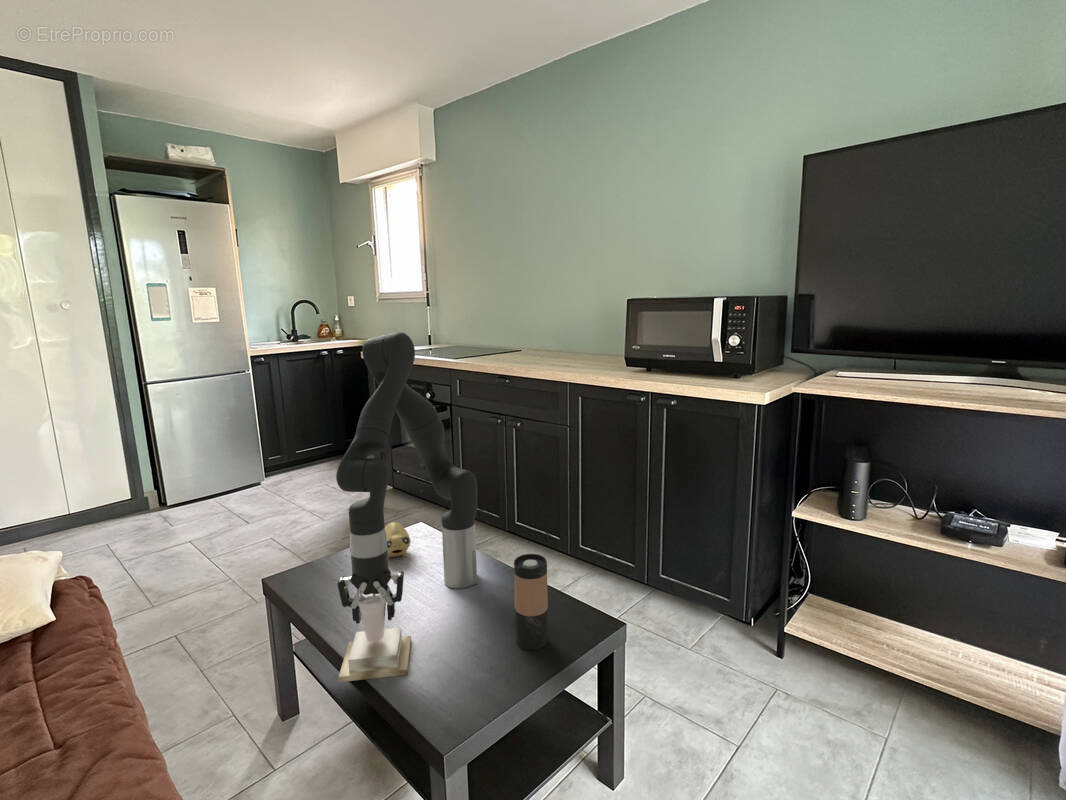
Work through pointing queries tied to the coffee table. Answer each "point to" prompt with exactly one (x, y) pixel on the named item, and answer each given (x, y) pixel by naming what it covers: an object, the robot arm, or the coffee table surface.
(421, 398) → the robot arm
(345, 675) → the base
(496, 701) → the coffee table surface
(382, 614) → the smoothie
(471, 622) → the coffee table surface
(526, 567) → the travel mug
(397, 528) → the yellow toy creature
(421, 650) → the coffee table surface
